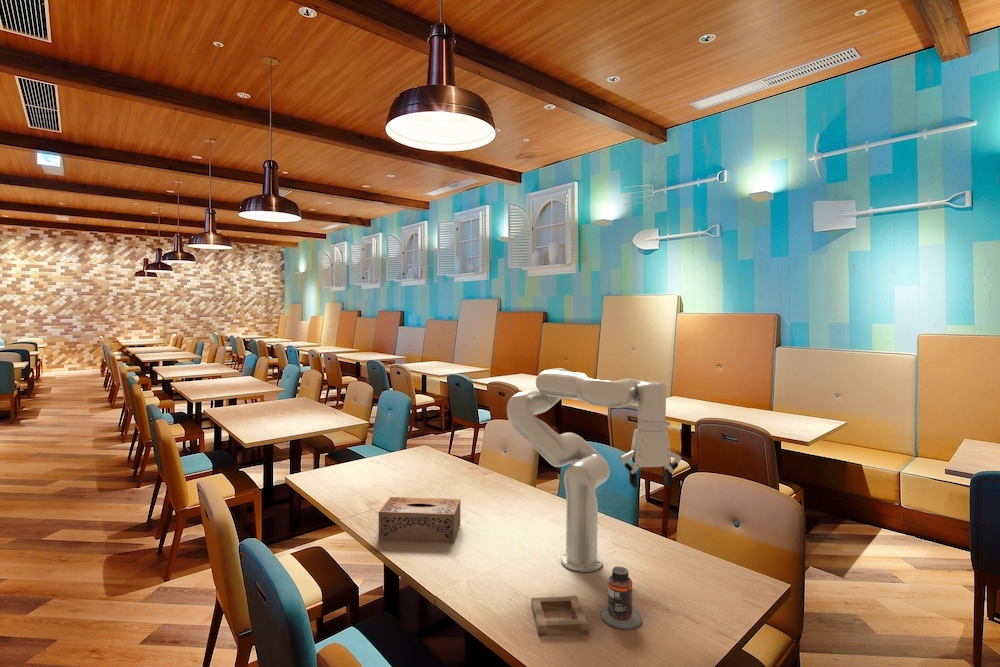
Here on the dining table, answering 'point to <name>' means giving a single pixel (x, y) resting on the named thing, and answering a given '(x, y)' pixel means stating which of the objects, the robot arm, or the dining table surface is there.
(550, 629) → the pocket frame
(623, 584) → the supplement bottle
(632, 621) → the coaster
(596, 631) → the dining table surface
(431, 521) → the tissue box cover
